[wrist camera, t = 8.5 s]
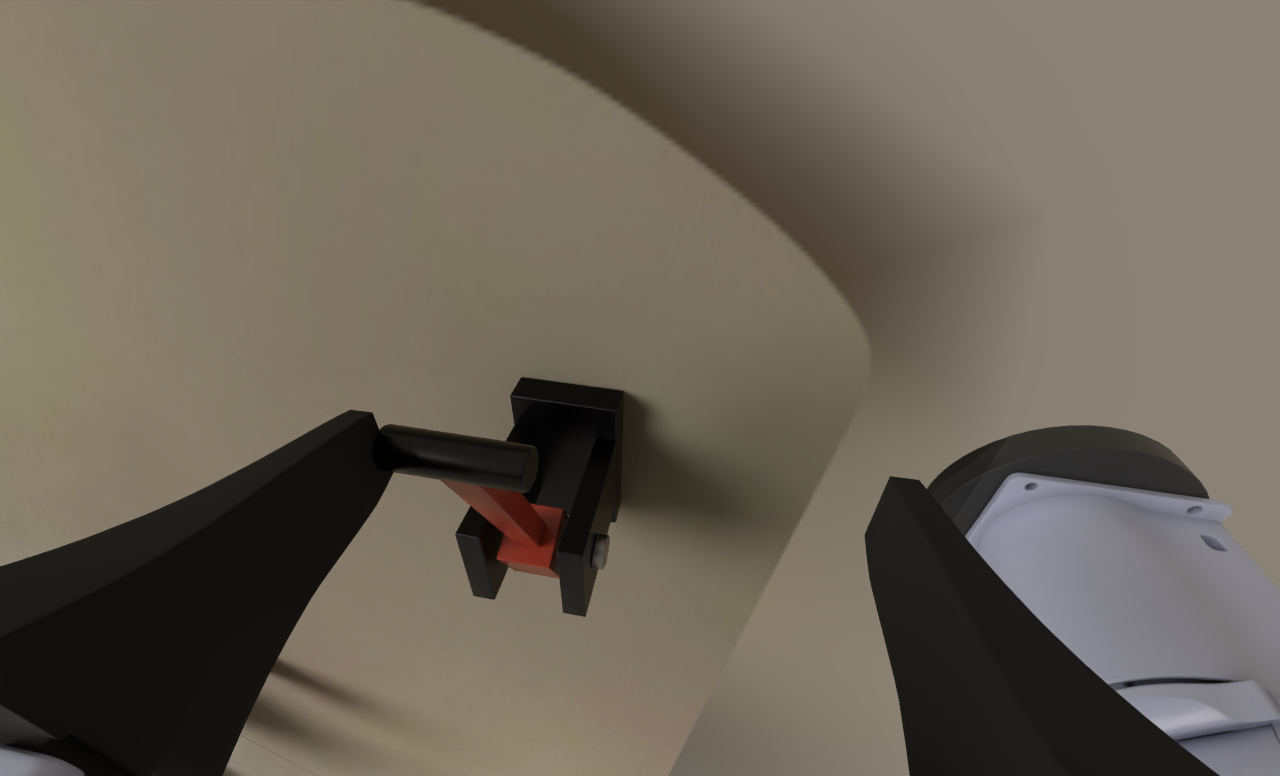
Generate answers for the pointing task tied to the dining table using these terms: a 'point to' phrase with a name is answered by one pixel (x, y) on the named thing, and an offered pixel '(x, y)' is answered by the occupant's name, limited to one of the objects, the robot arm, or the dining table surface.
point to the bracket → (559, 484)
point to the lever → (483, 487)
